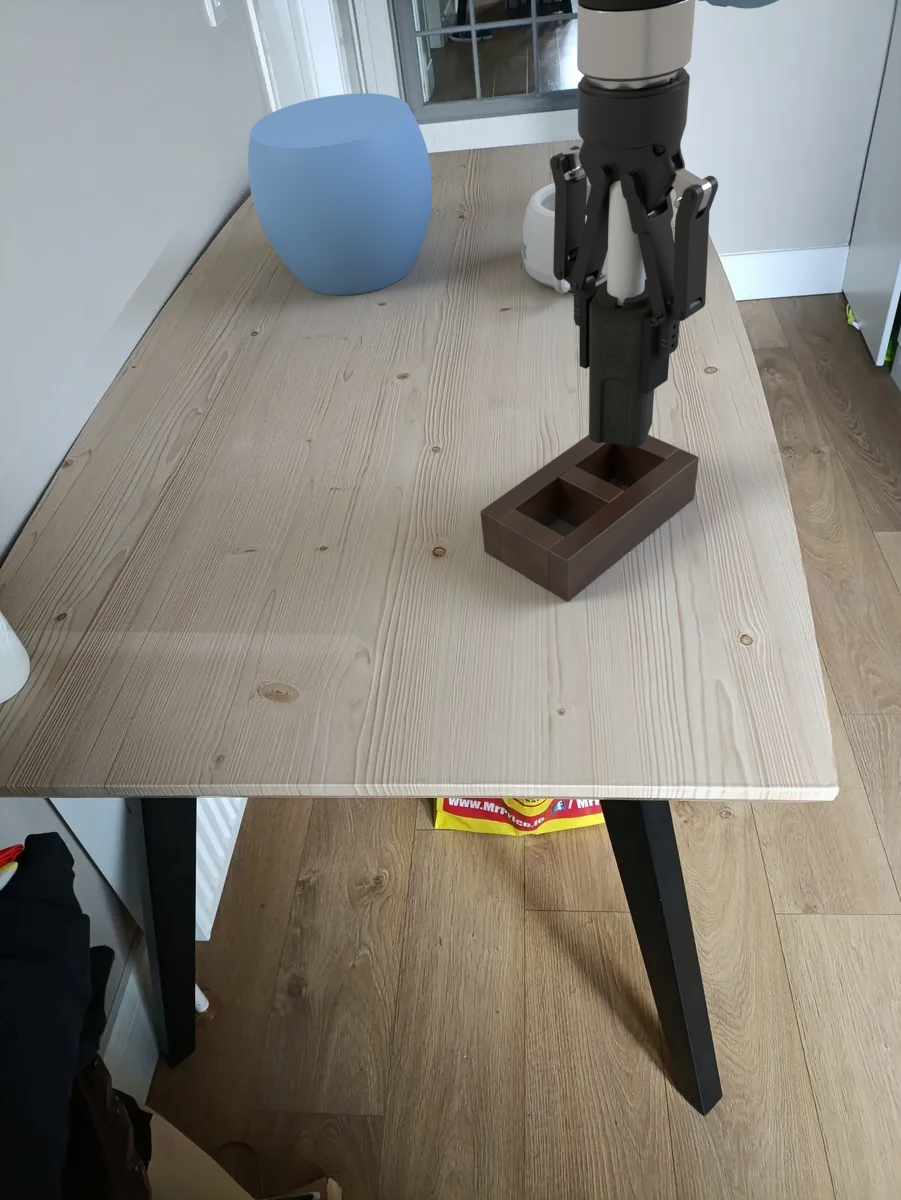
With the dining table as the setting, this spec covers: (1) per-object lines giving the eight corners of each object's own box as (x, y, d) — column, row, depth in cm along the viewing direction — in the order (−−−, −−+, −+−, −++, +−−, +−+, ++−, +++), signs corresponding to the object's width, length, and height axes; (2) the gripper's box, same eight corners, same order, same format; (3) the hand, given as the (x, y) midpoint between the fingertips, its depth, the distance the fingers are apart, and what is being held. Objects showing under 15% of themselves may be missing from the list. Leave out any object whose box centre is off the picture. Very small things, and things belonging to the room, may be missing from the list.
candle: (654, 417, 81) (674, 122, 63) (642, 449, 77) (659, 147, 60) (600, 410, 82) (604, 121, 65) (585, 441, 79) (586, 146, 62)
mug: (541, 240, 130) (539, 169, 123) (655, 245, 125) (659, 172, 118) (496, 309, 117) (490, 234, 110) (621, 319, 111) (624, 241, 104)
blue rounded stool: (429, 304, 120) (408, 145, 105) (255, 312, 124) (211, 160, 109) (450, 227, 137) (434, 82, 123) (296, 237, 141) (264, 97, 127)
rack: (694, 498, 85) (699, 456, 82) (567, 602, 77) (566, 561, 74) (610, 459, 91) (611, 418, 88) (484, 551, 83) (480, 511, 80)
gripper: (790, 73, 56) (743, 389, 72) (564, 42, 66) (568, 324, 83) (720, 108, 53) (688, 431, 69) (495, 70, 63) (513, 357, 80)
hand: (622, 372), depth 76 cm, fingers closed on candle, 6 cm apart
